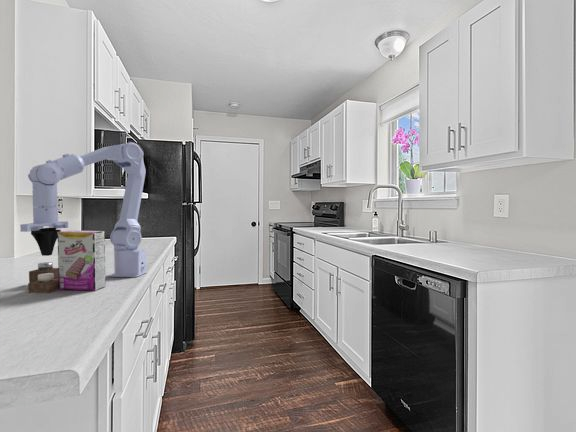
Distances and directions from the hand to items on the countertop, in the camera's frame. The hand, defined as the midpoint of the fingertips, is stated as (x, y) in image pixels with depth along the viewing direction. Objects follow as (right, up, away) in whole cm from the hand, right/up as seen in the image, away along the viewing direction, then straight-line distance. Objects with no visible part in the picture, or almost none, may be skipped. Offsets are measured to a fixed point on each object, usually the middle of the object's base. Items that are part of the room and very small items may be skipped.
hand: (46, 255), depth 97 cm
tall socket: (-4, -9, +5) cm, 11 cm away
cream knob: (+1, -10, -2) cm, 10 cm away
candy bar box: (+10, -10, 0) cm, 14 cm away
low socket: (+1, -10, -2) cm, 10 cm away
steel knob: (-4, -9, +5) cm, 11 cm away
